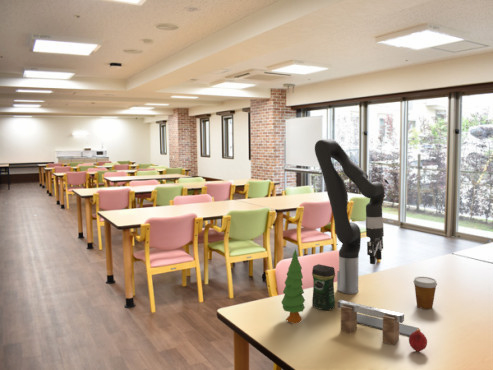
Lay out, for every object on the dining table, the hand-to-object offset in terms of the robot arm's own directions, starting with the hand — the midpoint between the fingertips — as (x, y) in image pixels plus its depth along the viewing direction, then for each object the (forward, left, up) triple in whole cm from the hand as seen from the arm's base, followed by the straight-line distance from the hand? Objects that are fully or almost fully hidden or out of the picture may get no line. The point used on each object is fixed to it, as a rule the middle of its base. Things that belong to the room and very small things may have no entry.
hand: (375, 261), depth 186 cm
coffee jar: (-16, -21, -18) cm, 32 cm away
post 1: (+2, -36, -18) cm, 40 cm away
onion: (+28, -39, -18) cm, 51 cm away
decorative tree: (-20, -41, -18) cm, 49 cm away
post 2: (+18, -36, -18) cm, 44 cm away
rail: (+10, -36, -10) cm, 38 cm away
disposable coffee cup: (+20, +4, -18) cm, 27 cm away
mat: (+10, -25, -18) cm, 32 cm away
